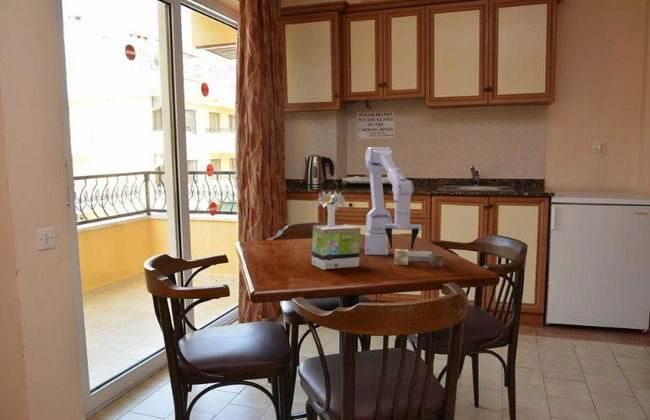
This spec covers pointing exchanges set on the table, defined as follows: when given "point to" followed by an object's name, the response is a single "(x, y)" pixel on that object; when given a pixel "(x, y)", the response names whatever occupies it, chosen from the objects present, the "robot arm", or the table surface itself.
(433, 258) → the walnut block
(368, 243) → the robot arm
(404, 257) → the maple cube
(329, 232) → the tea box
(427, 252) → the plate
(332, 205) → the flower vase
